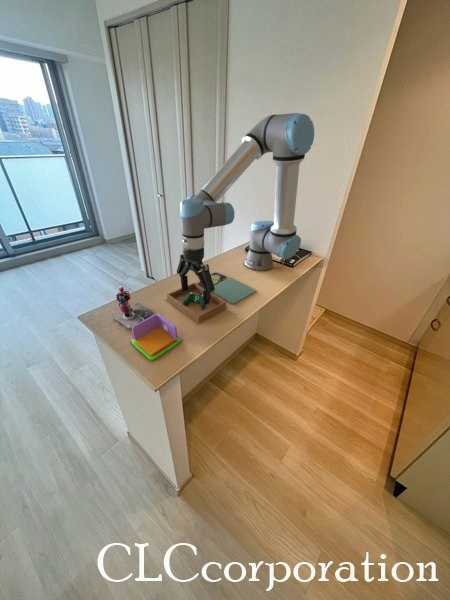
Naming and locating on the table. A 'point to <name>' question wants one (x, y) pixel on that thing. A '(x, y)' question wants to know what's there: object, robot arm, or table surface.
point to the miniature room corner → (154, 336)
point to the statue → (130, 310)
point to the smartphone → (215, 278)
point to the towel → (232, 290)
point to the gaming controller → (194, 299)
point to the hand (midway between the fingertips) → (195, 297)
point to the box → (190, 313)
